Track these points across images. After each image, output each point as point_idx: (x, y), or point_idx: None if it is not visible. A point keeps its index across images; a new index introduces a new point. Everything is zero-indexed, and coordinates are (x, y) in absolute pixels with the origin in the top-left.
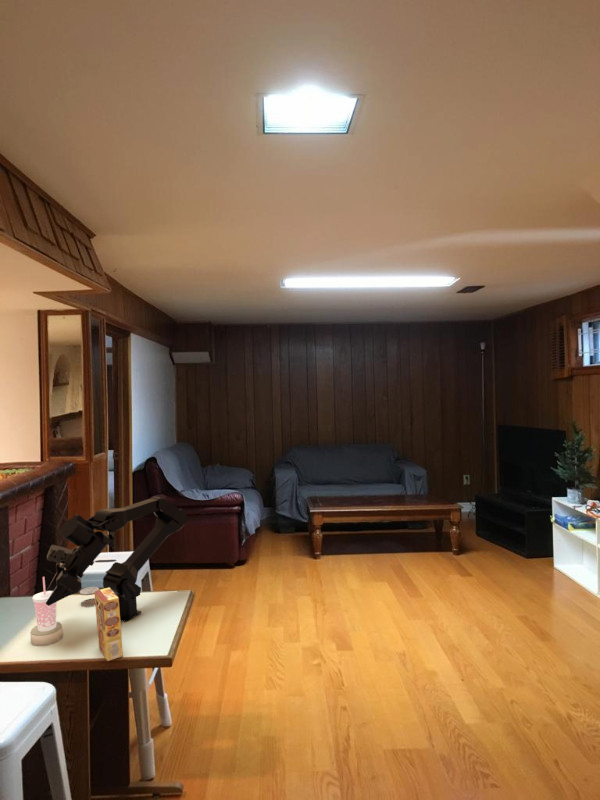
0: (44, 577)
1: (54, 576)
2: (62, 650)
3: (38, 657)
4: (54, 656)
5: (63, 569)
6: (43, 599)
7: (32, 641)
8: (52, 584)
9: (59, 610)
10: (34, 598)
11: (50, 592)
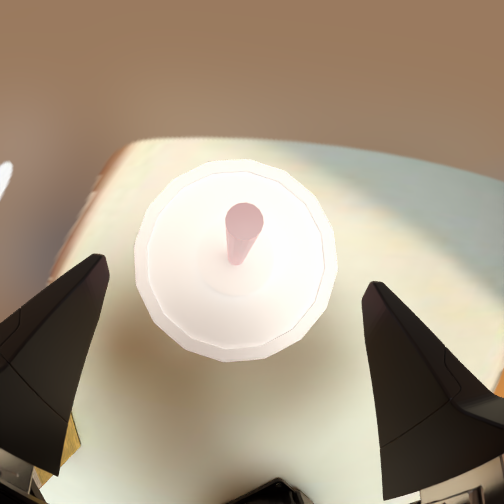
0: (238, 240)
1: (456, 365)
2: (102, 309)
3: (97, 230)
4: None
5: (461, 475)
6: (139, 238)
7: None
8: (392, 335)
9: (446, 322)
10: (211, 171)
11: (290, 309)
